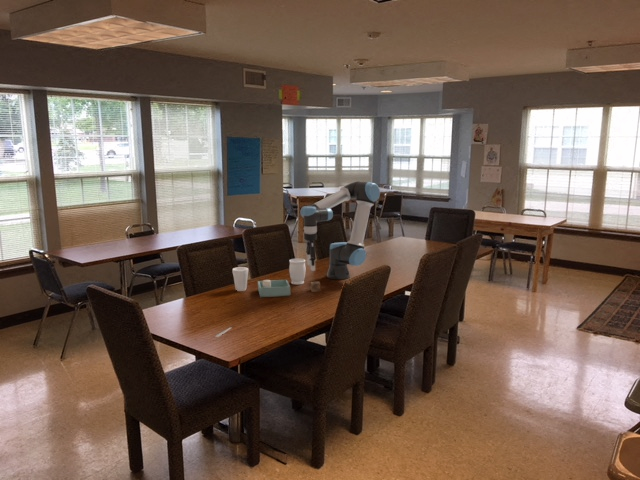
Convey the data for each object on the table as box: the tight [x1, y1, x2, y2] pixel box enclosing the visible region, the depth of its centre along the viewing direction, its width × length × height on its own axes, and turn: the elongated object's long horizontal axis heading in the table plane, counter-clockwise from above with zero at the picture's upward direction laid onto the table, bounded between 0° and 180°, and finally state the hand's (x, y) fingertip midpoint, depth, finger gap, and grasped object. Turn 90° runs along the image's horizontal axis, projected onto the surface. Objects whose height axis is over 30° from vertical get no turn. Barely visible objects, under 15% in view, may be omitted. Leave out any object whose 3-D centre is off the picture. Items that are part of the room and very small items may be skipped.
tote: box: [257, 279, 291, 298], centre depth 302 cm, size 18×16×6 cm
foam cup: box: [232, 266, 249, 292], centre depth 308 cm, size 10×9×13 cm
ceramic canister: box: [262, 279, 271, 288], centre depth 301 cm, size 5×5×7 cm
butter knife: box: [215, 326, 233, 338], centre depth 246 cm, size 1×27×3 cm
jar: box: [288, 258, 307, 285], centre depth 322 cm, size 11×10×15 cm
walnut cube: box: [310, 281, 321, 293], centre depth 306 cm, size 5×5×5 cm
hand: (311, 267), depth 304 cm, fingers open, 13 cm apart
